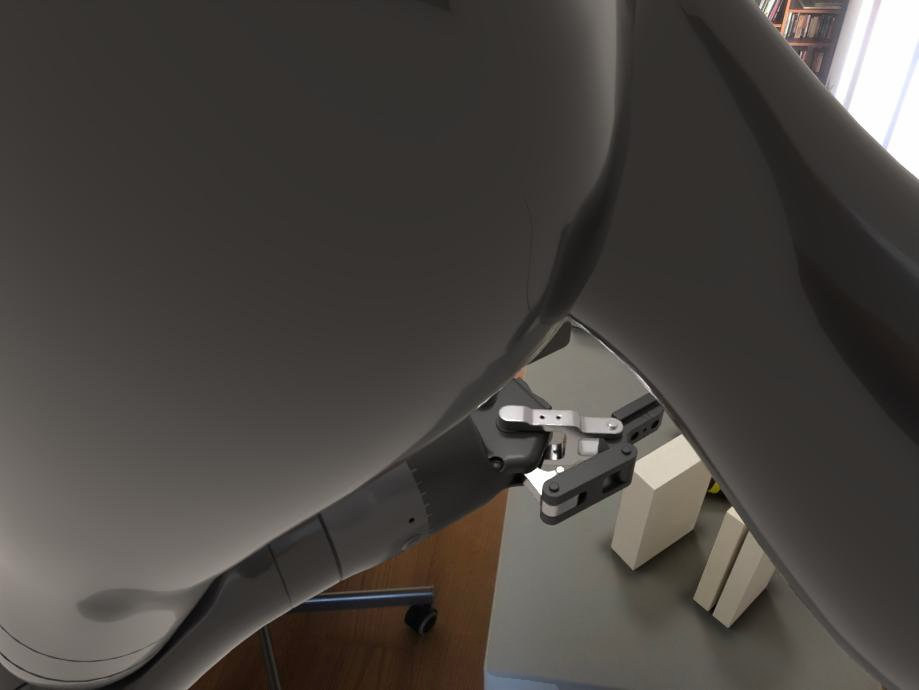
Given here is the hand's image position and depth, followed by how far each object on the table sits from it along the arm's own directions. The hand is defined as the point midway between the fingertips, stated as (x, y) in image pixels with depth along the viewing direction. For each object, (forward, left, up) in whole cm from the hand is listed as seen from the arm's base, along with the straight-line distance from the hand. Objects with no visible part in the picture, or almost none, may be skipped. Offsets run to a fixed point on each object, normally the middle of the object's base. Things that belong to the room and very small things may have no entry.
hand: (610, 364), depth 44 cm
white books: (-9, -11, -28) cm, 31 cm away
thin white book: (-1, -10, -28) cm, 29 cm away
